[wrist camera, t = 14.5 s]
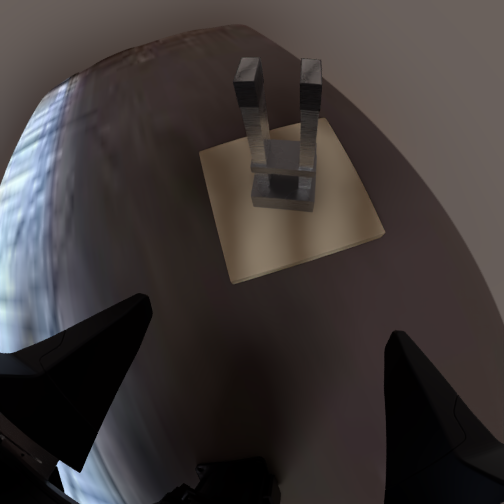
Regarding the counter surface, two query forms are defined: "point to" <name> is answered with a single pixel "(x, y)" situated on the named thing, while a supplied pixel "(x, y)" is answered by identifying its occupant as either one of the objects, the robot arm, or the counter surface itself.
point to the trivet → (286, 221)
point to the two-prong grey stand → (280, 151)
